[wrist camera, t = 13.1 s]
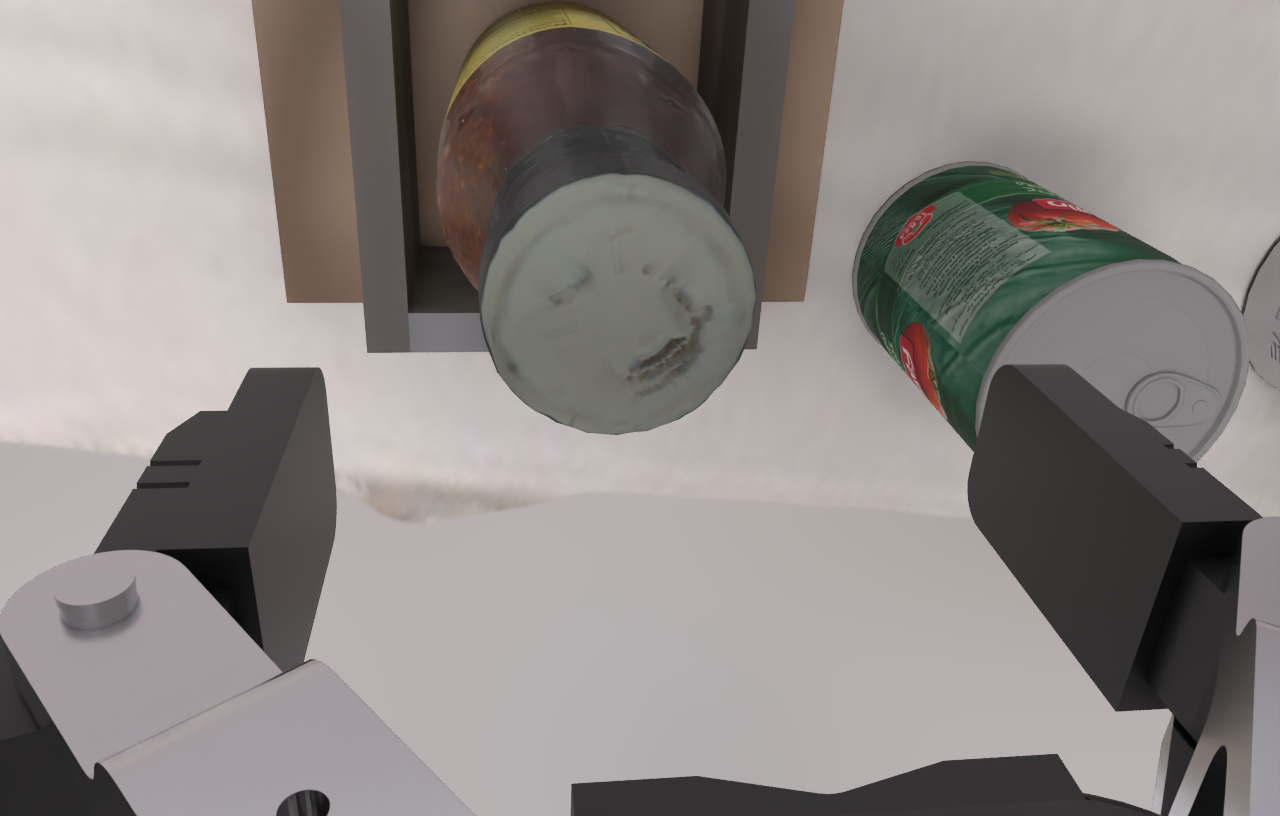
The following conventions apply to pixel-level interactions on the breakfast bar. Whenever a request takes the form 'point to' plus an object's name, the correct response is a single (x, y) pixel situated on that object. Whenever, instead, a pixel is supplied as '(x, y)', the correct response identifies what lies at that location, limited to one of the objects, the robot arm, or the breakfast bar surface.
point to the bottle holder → (414, 117)
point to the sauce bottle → (592, 221)
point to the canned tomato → (1044, 304)
